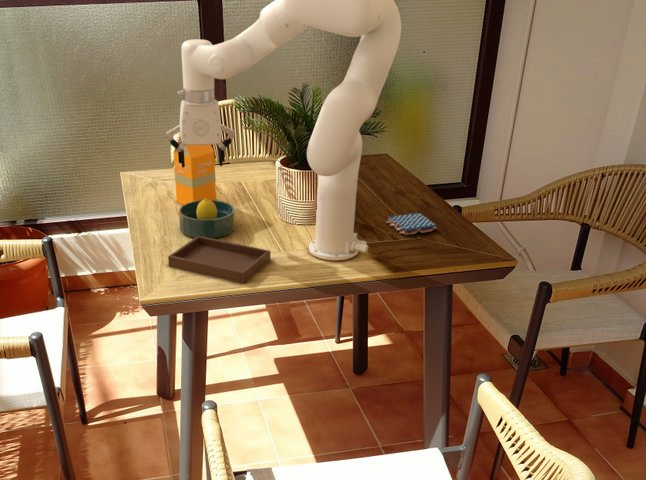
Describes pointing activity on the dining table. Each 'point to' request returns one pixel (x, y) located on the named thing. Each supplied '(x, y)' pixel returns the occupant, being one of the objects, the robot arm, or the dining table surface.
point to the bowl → (207, 227)
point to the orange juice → (195, 174)
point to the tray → (219, 259)
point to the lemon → (206, 210)
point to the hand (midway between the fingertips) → (201, 165)
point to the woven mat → (411, 223)
